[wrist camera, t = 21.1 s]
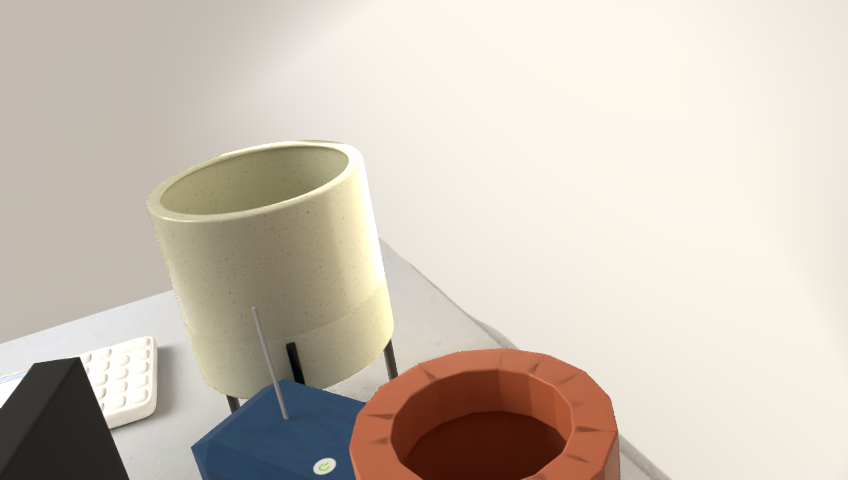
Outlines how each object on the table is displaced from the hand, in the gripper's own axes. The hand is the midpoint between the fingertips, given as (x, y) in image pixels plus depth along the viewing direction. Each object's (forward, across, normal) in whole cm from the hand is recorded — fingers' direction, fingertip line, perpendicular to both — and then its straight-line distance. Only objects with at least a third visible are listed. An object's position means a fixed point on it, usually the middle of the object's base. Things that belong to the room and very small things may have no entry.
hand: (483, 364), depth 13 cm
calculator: (+50, -39, -32) cm, 71 cm away
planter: (+40, -13, -32) cm, 53 cm away
